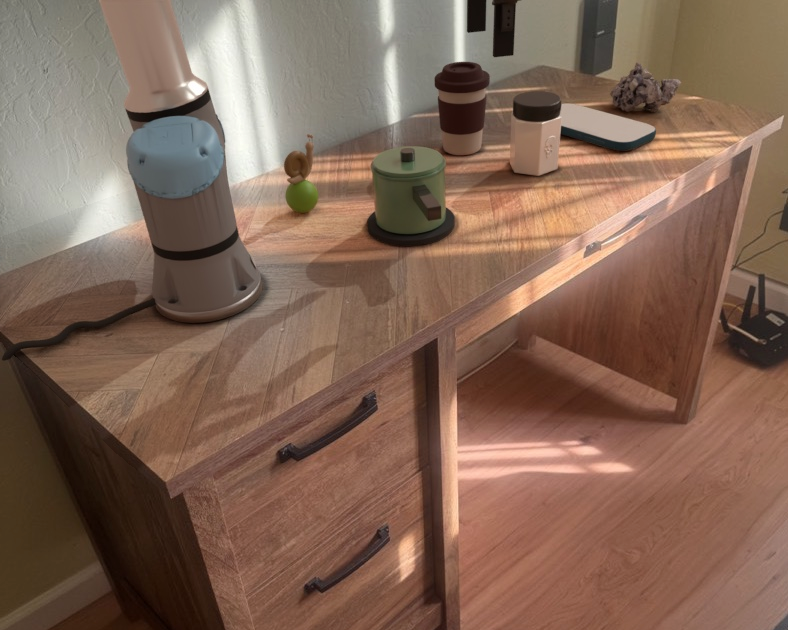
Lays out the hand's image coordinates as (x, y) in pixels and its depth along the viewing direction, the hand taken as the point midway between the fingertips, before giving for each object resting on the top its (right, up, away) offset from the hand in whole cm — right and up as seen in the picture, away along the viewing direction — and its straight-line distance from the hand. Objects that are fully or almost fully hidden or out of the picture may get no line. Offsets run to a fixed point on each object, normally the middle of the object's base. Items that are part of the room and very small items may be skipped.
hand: (489, 43), depth 109 cm
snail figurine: (-28, -19, +20) cm, 40 cm away
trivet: (-11, -23, +13) cm, 29 cm away
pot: (-10, -24, +10) cm, 28 cm away
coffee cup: (-1, -3, +37) cm, 37 cm away
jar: (+12, -9, +29) cm, 32 cm away
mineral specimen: (+36, +9, +48) cm, 61 cm away
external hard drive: (+25, +1, +40) cm, 47 cm away
